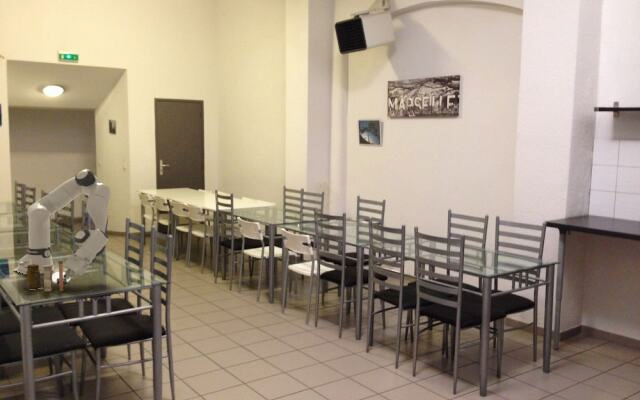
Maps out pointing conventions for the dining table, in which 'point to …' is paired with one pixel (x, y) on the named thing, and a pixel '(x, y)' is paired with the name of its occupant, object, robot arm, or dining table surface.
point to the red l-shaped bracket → (60, 274)
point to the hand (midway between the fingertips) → (65, 278)
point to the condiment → (33, 277)
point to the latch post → (48, 277)
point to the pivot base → (63, 280)
